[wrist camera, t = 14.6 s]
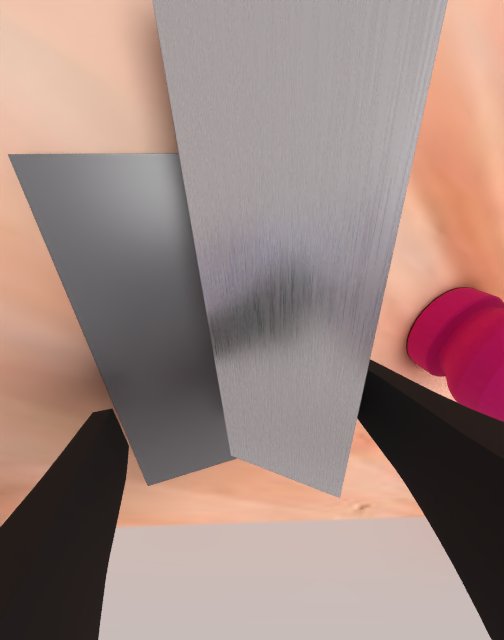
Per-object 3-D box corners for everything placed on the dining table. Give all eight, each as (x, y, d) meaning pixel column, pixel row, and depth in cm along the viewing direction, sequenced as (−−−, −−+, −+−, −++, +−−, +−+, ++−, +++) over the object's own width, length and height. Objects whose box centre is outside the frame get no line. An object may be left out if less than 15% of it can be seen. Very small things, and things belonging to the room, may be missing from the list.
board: (148, 473, 16) (147, 485, 15) (21, 157, 8) (8, 154, 7) (279, 434, 18) (283, 443, 17) (288, 154, 10) (297, 152, 9)
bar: (231, 455, 12) (339, 498, 10) (131, -124, 4) (535, -408, 2) (258, 402, 15) (347, 427, 13) (229, -7, 7) (448, -92, 5)
